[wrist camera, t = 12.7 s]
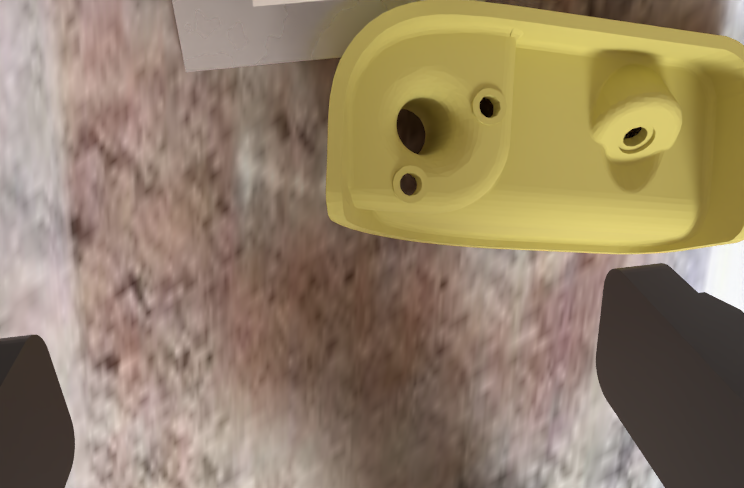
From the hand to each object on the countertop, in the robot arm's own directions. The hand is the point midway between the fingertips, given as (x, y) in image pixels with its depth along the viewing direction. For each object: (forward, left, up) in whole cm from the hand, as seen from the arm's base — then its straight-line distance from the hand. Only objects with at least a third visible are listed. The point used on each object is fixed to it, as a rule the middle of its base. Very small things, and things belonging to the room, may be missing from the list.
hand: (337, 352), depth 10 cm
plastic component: (-12, -1, -23) cm, 26 cm away
